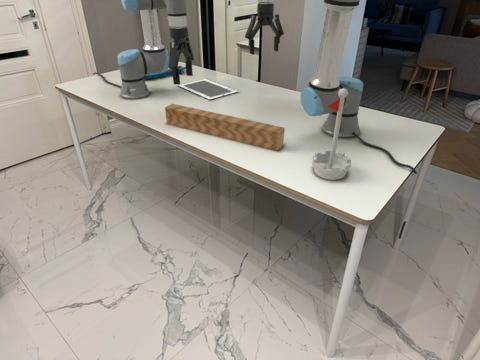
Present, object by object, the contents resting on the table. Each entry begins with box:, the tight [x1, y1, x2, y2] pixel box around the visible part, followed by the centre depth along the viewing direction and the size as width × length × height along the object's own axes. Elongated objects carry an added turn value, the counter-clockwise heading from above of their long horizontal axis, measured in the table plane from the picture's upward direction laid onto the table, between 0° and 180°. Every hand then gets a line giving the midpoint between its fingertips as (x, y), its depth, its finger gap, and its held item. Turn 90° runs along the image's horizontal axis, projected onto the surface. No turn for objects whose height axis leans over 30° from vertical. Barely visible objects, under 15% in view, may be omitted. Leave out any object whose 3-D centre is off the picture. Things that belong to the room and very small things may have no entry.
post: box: [164, 103, 285, 152], centre depth 145 cm, size 56×6×8 cm, turn 61°
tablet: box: [177, 78, 239, 101], centre depth 198 cm, size 32×20×1 cm, turn 41°
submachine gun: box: [143, 65, 186, 81], centre depth 225 cm, size 34×4×25 cm
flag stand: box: [312, 88, 352, 181], centre depth 113 cm, size 13×13×30 cm
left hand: (183, 79), depth 148 cm, fingers open, 13 cm apart
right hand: (264, 52), depth 163 cm, fingers open, 13 cm apart
